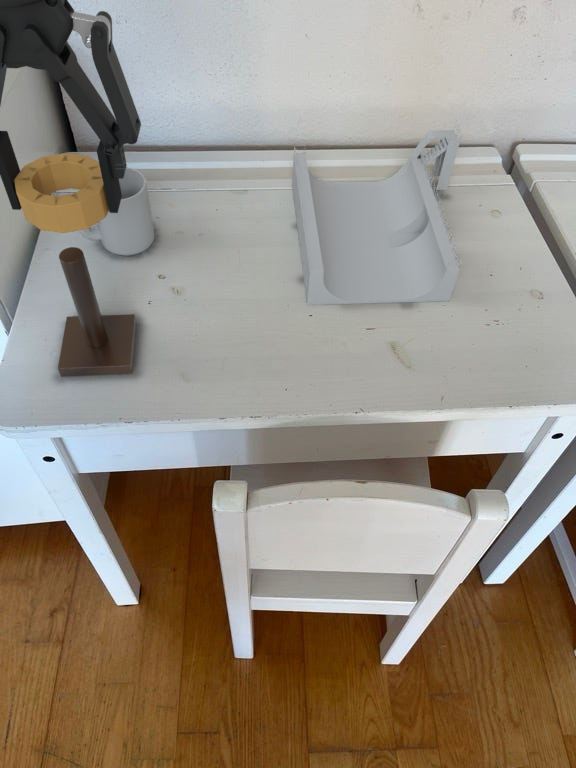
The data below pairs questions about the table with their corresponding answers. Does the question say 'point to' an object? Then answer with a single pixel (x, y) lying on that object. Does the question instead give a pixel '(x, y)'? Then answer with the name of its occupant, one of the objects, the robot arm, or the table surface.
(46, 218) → the tape roll
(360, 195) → the skate ramp
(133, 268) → the table surface
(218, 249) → the table surface
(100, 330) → the stand
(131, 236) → the cup
